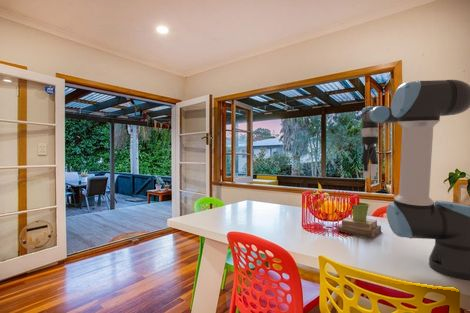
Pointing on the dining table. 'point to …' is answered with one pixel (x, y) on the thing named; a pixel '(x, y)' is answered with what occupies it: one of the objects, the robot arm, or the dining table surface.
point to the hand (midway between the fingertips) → (370, 176)
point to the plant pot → (360, 211)
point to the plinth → (360, 232)
